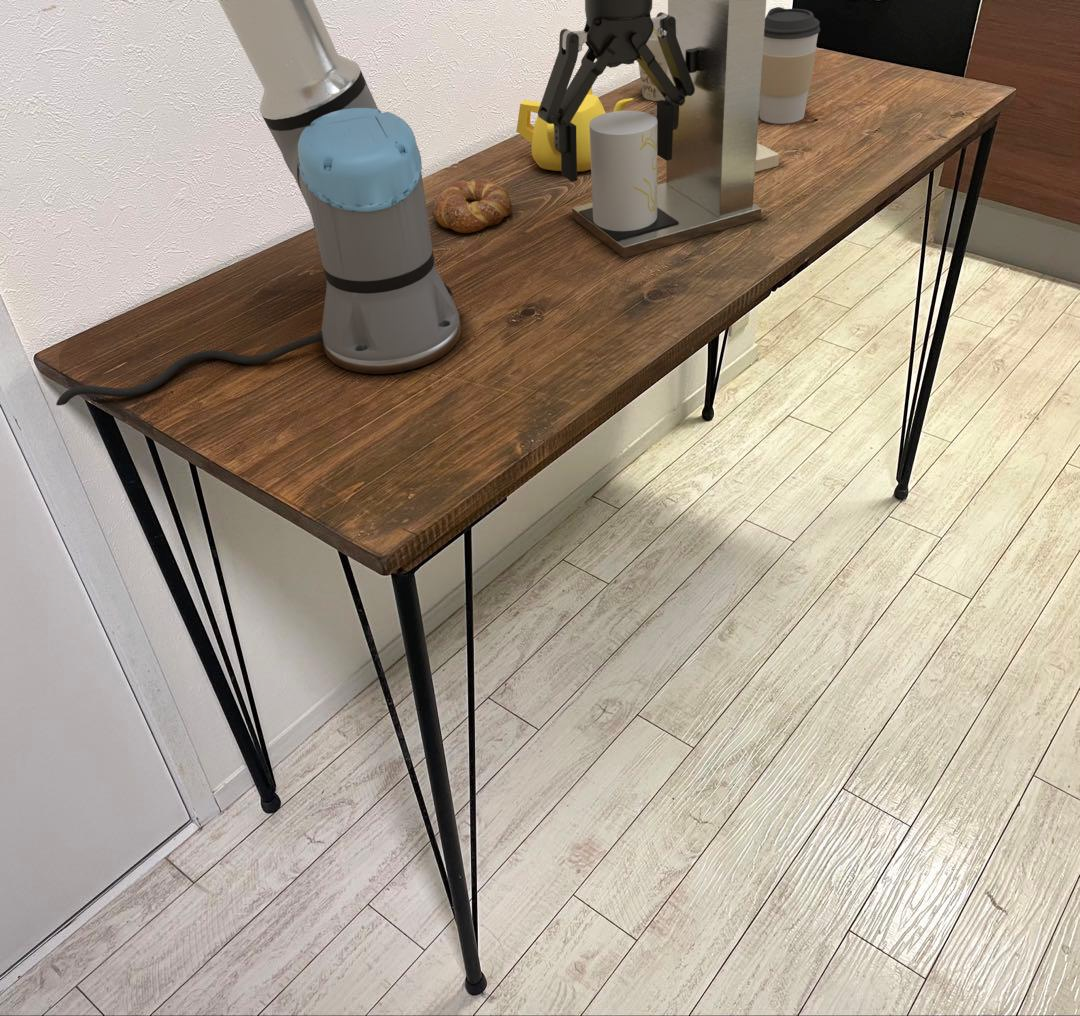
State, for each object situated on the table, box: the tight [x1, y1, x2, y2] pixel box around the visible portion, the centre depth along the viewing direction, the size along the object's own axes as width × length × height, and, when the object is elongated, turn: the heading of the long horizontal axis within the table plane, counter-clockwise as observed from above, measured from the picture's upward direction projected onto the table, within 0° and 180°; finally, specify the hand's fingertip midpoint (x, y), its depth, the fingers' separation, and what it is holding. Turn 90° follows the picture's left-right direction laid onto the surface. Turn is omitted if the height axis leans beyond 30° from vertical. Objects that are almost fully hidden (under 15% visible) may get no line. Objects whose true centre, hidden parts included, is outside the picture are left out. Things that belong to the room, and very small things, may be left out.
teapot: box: [516, 86, 634, 173], centre depth 147 cm, size 14×13×10 cm
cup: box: [589, 110, 658, 231], centre depth 126 cm, size 8×8×12 cm
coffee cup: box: [759, 6, 821, 125], centre depth 153 cm, size 9×9×15 cm
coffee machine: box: [571, 0, 767, 259], centre depth 123 cm, size 20×14×29 cm
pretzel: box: [432, 178, 513, 234], centre depth 136 cm, size 12×11×4 cm
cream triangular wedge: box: [755, 140, 780, 173], centre depth 144 cm, size 10×8×4 cm
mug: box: [638, 31, 667, 102], centre depth 166 cm, size 8×13×10 cm, turn 96°
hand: (617, 167), depth 125 cm, fingers open, 12 cm apart
